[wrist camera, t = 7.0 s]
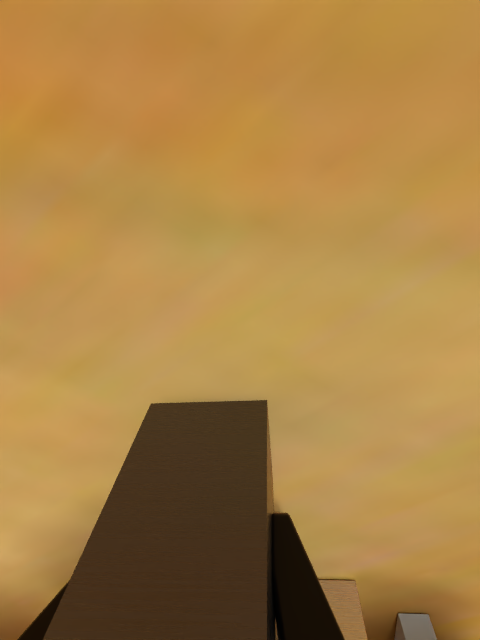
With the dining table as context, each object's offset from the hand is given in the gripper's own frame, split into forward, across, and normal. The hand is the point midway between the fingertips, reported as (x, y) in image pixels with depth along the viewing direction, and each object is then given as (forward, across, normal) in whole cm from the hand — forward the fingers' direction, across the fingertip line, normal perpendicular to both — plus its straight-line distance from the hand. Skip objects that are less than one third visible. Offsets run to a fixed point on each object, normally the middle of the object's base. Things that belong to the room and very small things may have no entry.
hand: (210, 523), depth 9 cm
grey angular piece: (+2, 0, +2) cm, 3 cm away
